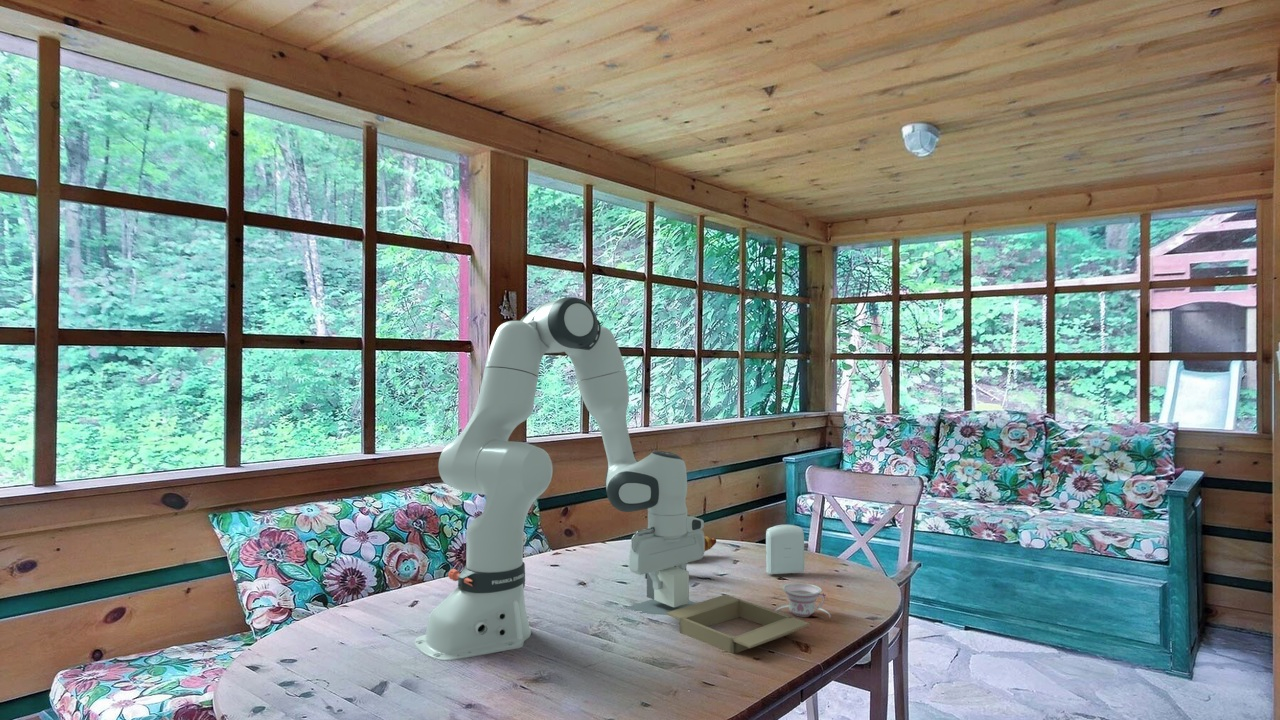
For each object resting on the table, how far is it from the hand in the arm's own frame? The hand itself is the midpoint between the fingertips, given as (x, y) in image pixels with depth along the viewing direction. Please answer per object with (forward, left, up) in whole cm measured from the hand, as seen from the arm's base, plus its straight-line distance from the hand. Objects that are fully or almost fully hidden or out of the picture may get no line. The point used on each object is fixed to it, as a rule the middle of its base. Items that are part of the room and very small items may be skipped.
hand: (667, 586), depth 161 cm
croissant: (+34, +32, -6) cm, 47 cm away
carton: (0, -21, -5) cm, 21 cm away
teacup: (+20, -22, -6) cm, 30 cm away
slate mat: (0, 0, -5) cm, 5 cm away
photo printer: (+43, +1, -6) cm, 43 cm away
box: (0, 0, -3) cm, 3 cm away
